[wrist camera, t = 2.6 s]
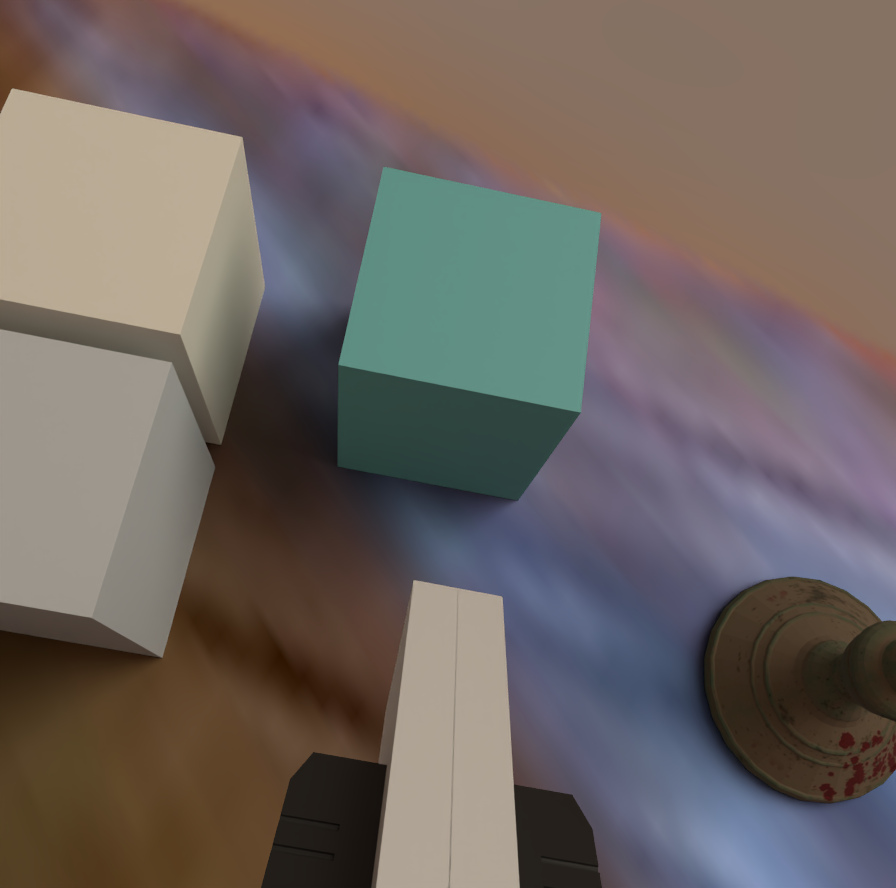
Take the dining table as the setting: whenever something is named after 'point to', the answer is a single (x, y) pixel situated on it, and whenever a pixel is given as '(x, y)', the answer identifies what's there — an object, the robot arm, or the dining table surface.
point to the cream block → (130, 241)
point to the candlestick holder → (805, 688)
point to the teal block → (465, 335)
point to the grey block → (95, 493)
